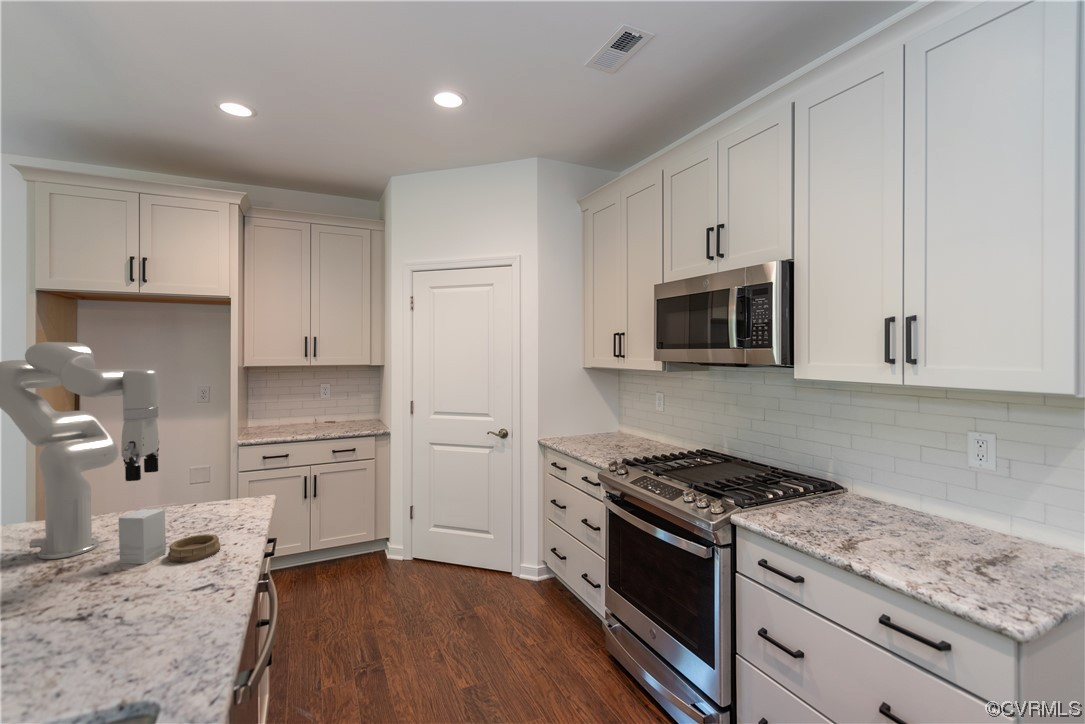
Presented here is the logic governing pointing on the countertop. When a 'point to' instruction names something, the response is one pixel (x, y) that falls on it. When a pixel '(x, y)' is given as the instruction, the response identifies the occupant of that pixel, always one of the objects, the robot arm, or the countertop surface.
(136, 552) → the supplement box
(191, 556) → the coaster tray
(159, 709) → the countertop surface
